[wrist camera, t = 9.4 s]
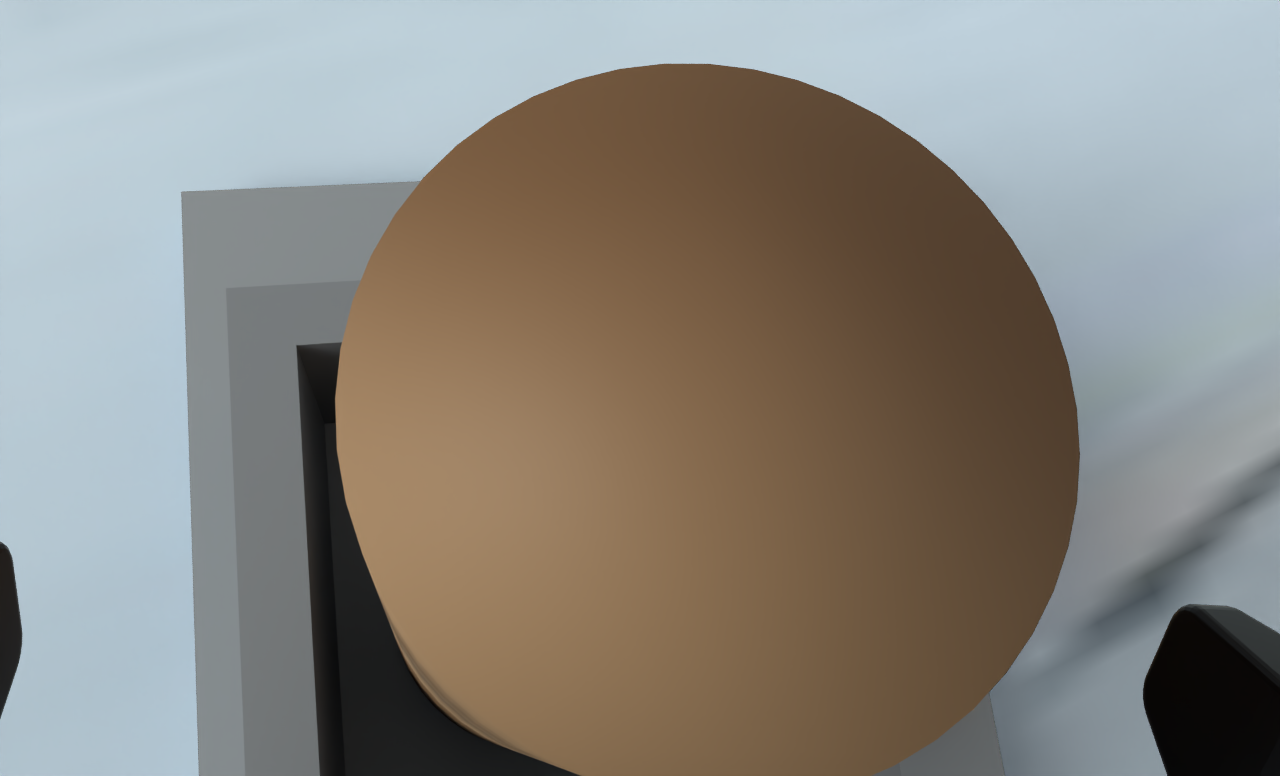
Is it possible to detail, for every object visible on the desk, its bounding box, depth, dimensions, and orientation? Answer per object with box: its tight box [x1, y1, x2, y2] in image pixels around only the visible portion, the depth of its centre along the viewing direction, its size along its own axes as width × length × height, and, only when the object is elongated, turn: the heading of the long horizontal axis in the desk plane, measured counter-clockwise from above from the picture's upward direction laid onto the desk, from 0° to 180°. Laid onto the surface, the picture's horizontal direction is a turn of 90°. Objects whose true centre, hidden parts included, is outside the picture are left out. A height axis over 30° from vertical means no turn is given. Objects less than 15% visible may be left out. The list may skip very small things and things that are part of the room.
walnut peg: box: [335, 64, 1080, 776], centre depth 13 cm, size 4×4×12 cm
